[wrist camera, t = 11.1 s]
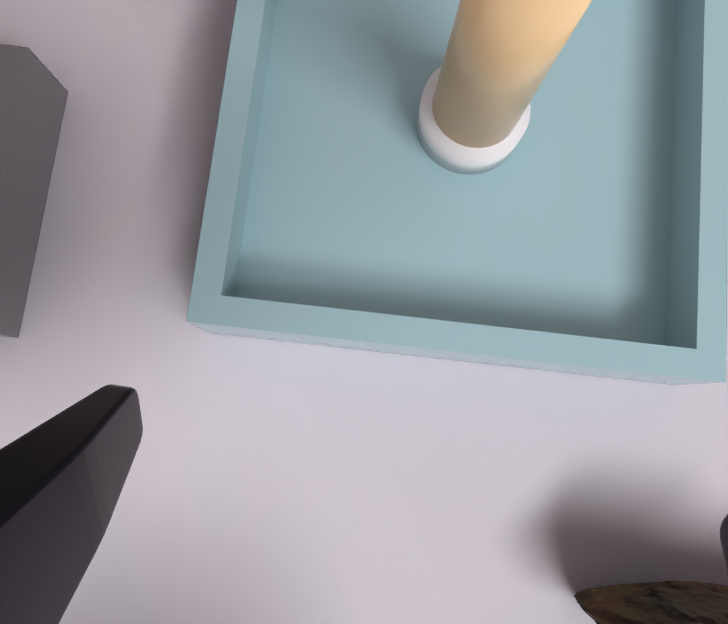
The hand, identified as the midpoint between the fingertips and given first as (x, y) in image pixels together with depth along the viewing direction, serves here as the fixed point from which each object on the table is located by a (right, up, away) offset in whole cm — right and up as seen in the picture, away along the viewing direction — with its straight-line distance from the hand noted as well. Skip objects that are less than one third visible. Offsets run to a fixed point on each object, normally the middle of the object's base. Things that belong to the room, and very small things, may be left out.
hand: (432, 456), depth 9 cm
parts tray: (+3, +9, +15) cm, 18 cm away
